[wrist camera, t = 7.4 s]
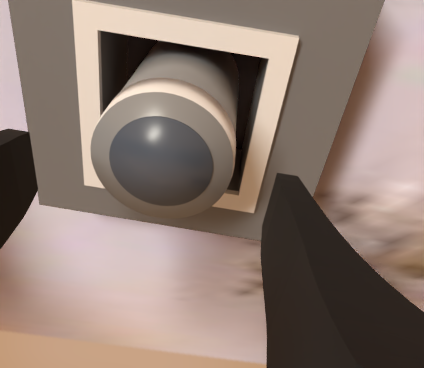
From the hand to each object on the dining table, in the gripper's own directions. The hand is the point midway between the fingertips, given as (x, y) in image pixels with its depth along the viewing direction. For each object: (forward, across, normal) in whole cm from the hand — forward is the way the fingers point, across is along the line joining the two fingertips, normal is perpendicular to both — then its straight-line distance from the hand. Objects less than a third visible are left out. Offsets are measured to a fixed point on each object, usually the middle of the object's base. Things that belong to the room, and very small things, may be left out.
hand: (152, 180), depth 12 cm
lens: (+8, 0, 0) cm, 8 cm away
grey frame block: (+8, 0, 0) cm, 8 cm away
